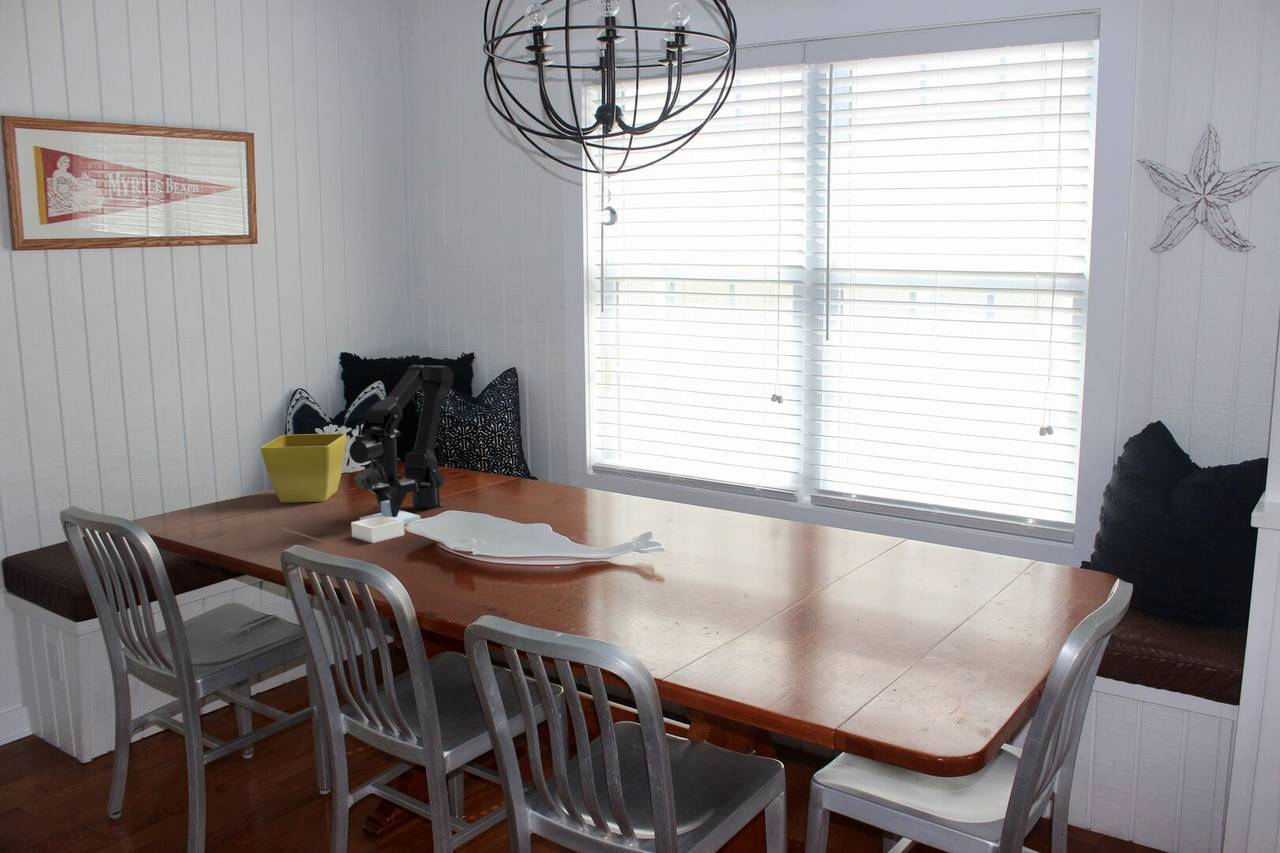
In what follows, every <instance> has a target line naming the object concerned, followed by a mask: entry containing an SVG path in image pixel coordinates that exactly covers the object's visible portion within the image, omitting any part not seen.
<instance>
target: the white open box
mask: <svg viewBox="0 0 1280 853" xmlns="http://www.w3.org/2000/svg"><path fill="white" fill-rule="evenodd" d="M350 523H351V524H350V526H351V536H352V538H354V539H358V540H362V541H363V542H367V543H371V544H374V543H375V544H376V543H379V542H383V541H386V540H390V539H391V540H392V539H394V538H399V537H403V536H405V525H404V521H403V520H399V519H396V518H392V517H388V516H384V515H381V516H377V517H373V518H368V519H364V520H360V519H359V520H354V521H352V522H350Z"/></svg>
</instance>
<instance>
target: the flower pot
mask: <svg viewBox="0 0 1280 853" xmlns="http://www.w3.org/2000/svg"><path fill="white" fill-rule="evenodd" d="M346 443H347V433H312V434H311V433H307V434H306V433H305V434H303V433H302V434H283V435H280V436H278V437H276V438H275V439H273V440H271V441H270V442H268V443H266V444H264V445H262V446H261V447H260V451H261V455H262V460H263V462H264V465H265V468H266V471H267V474H268V478H269V480H270V482H271V484H272V486H273V489H274V491H275V493H276V496H277V498H278V499H279V501H280V503H316V502H317V503H322V502H326V501H327V500H328V499H329V498H331V497H332V496H333V495H334V494H336V493H337V492H338V488H339V485H340V480H341V477H342V474H343V473H342V472H343V467H344V462H345V461H344V460H345V454H346V445H347V444H346Z"/></svg>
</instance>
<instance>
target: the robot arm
mask: <svg viewBox="0 0 1280 853" xmlns="http://www.w3.org/2000/svg"><path fill="white" fill-rule="evenodd" d="M454 376H455V375H454V372H453V371H452V369H451V368H450V366H448V365H423V364H419V365H418V364H412V365H410V366H408V367H407V369H406V372H405V373H404V375H403V376H402V378H401V379H400V380H399V381H398V382H397V384H396V385H395V386H394V388H393V389H392V390H391V392H389V394H388V395H387V396H386V397H385V398H384V399H382V400H380V401H378V402H376V403H374V404H373V405H372V406H370V408H369V409H368V411H367V413H366V417H365V419H364V422H363V425H362V426H361V429H360V433H359V435H355V436H354V440H355V441H353V442H351V444H350V446H349V449H348V452H349V456H350V459H351V460H352V461H354V462H355V463H357V464H358V465H359V464H364V463H368V462H370V463H369V467H368V468H366V469H364V470H361V472H359V473H357V474H356V475H355V476H353V479H354V481H355V483H356V486H357V487H358V488H357V489H362V490H364V491H370V492H371V493H372V494H373V495H374V496H375V499H376V500H377V503H378V506H379V508H380V509H381V502H382V501H386V500H390V506H391V512H392V516H393V517H396V516H397V515H398V512H399V510H400V509H401V507H402V505H403V502H404V500H405V498H406V496H407V494H408V493H409V494H410V493H411V498H412V506H410V508H411V509H414V510H418V511H422V512H428V511H431V510H436V509H439V508H444V505H443V504H441V501H440V500H441V499H440V488H442V486H444V483H445V476H443V474H442V473H441V471H439V470H438V460H437V457H436V454H435V444H436V439H437V433H438V428H439V422H440V417H441V416H440V415H441V411H442V404H443V401H444V398H445V397H447V395H448V394H449V393H450V391H451V389H452V385H453V382H454ZM419 388H420V389H421V391H422V394H423V401H422V407H421V411H420V412H421V413H420V418H419V424H418V429H417V434H416V438H415V439H416V440H415V445H414V448H413V449H412V451H410V452H406V453H405V455H404V456H405V457H404V463H403V465H402V468H403V475H404V478H403V475H402V474H401V473H399V466H398V465H399V464H401V463H402V461H401V458H398V451H397V450H398V448H397V437H400V436H401V435H402V433H401V432H400V431H399V430H398V429H397V427H398V426H399V424H400V422H401V420H402V418H403V409H404V408H405V407H406V405H407V404H408V402H409V401H410V400H411V398H413V396H414V395H415V394H416V392H417V390H418V389H419Z"/></svg>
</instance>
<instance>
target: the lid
mask: <svg viewBox="0 0 1280 853" xmlns="http://www.w3.org/2000/svg"><path fill="white" fill-rule="evenodd" d="M380 511H381V512H378V513H374V514H371V515H366V516H361V517H359V521H360V520H364V519H368V518H373V517H377V516H381V515H384V516H388V517H392V518H396V519H399V520H403V521H404V524H407V523H410V522H413V521H416V520H420V518H421V515H420V514H415V513H413V512H412V513H411V512H408V511H404V510H399V512H398V515H397V516H396V517H393V516H392V512H391V506H390V500H386V501H382V502H381V508H380Z"/></svg>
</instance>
